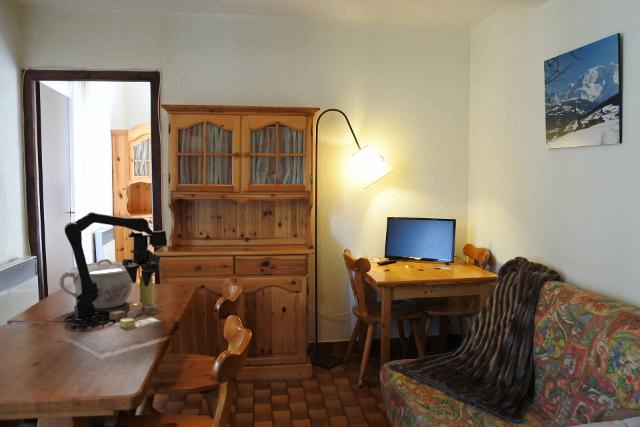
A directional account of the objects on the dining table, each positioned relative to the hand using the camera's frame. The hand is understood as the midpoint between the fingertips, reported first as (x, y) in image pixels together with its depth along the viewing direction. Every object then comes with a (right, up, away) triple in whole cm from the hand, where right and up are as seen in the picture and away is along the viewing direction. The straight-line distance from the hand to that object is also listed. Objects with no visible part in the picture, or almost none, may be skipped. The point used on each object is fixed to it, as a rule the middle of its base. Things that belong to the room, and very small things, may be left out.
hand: (140, 284), depth 208 cm
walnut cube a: (-6, -13, -10) cm, 18 cm away
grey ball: (-1, -13, -8) cm, 15 cm away
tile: (+2, -13, -20) cm, 24 cm away
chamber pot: (-21, -11, +13) cm, 27 cm away
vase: (-1, -12, +9) cm, 15 cm away
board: (+6, -14, -16) cm, 22 cm away
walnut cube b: (+5, -13, -2) cm, 14 cm away
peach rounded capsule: (-1, -13, -2) cm, 13 cm away
